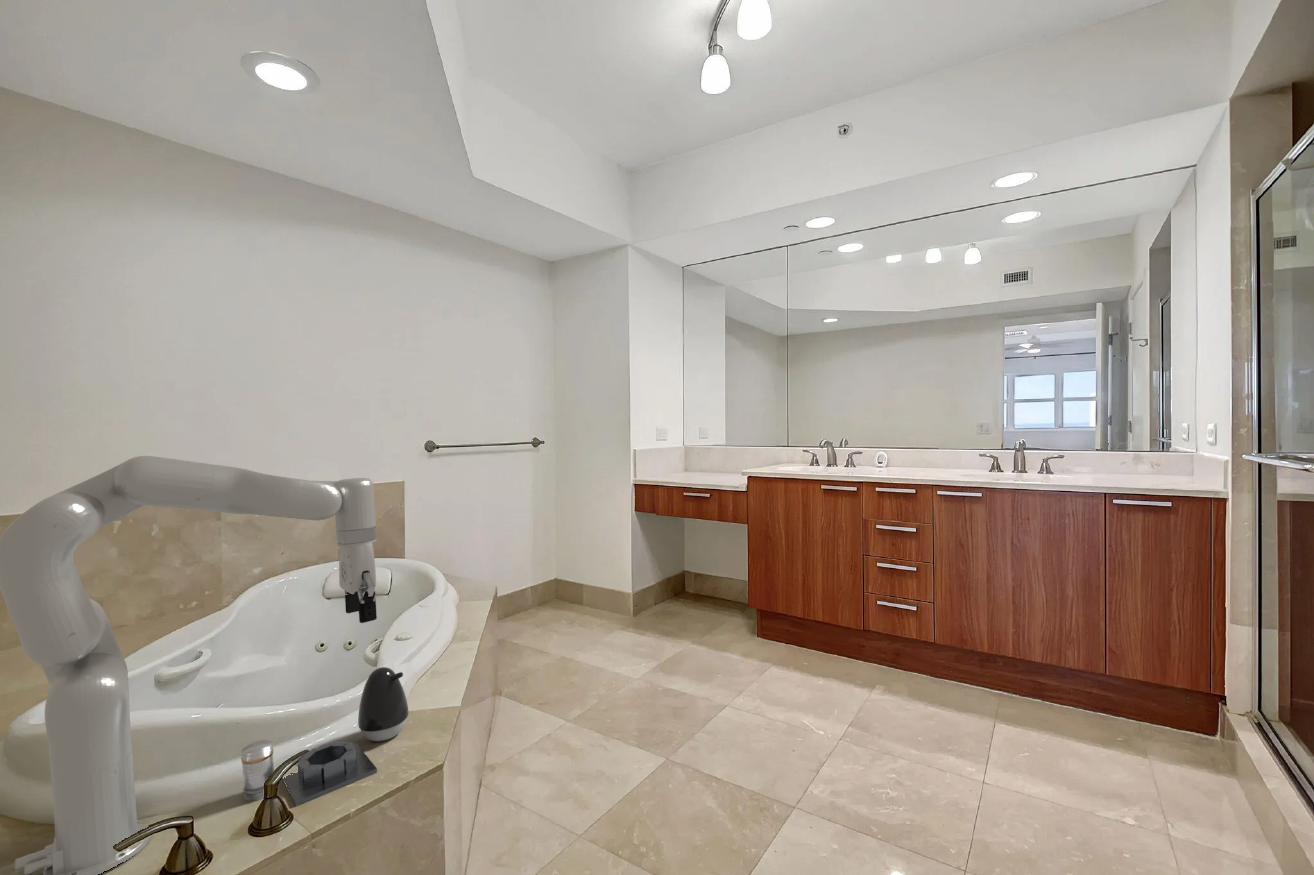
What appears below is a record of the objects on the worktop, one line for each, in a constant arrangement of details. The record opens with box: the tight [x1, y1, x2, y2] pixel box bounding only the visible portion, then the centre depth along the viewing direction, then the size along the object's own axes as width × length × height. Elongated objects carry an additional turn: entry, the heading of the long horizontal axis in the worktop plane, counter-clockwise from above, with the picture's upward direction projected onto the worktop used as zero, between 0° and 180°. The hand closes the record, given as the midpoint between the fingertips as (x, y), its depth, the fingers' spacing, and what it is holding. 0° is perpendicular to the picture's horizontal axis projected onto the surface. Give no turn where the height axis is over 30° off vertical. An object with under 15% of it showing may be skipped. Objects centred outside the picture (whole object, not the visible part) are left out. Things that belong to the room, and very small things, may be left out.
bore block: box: [283, 741, 378, 807], centre depth 115 cm, size 14×14×4 cm
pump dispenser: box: [357, 666, 409, 742], centre depth 129 cm, size 10×10×15 cm
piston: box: [240, 739, 275, 803], centre depth 109 cm, size 5×5×9 cm
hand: (360, 616), depth 122 cm, fingers open, 9 cm apart
